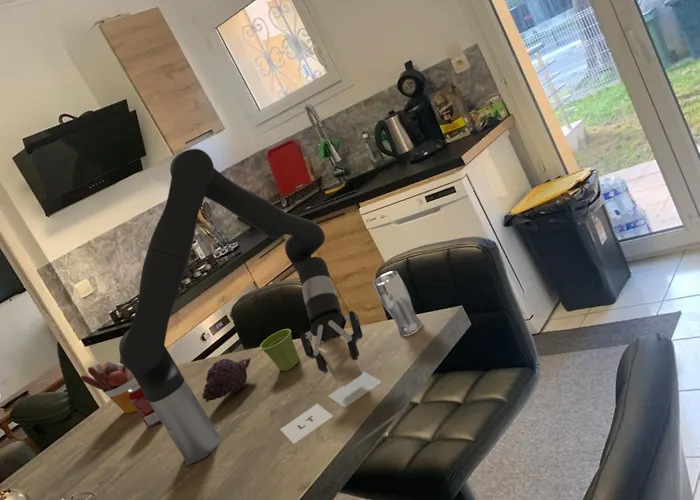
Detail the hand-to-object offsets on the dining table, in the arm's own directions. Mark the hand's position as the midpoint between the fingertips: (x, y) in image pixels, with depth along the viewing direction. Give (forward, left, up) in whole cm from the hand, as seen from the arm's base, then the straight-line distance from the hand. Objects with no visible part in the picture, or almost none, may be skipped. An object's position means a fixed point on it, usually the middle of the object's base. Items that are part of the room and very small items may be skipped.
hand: (339, 365), depth 144 cm
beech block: (+1, +1, -4) cm, 5 cm away
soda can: (-40, +60, -8) cm, 73 cm away
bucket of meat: (-43, +84, -8) cm, 95 cm away
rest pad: (+1, +1, -8) cm, 8 cm away
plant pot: (-3, +38, -8) cm, 39 cm away
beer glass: (+23, +11, -8) cm, 27 cm away
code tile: (-12, +1, -8) cm, 15 cm away
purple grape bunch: (-19, +44, -8) cm, 49 cm away
